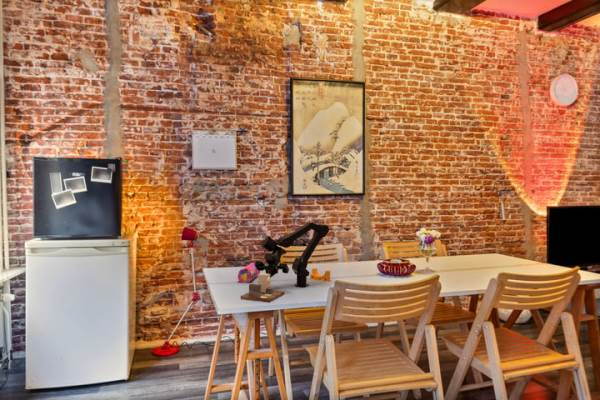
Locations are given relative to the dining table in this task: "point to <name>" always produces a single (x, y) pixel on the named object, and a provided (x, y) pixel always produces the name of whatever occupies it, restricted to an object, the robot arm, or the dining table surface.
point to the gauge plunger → (264, 281)
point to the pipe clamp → (317, 276)
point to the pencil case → (248, 273)
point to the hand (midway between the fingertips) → (266, 280)
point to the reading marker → (269, 290)
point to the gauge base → (275, 295)
